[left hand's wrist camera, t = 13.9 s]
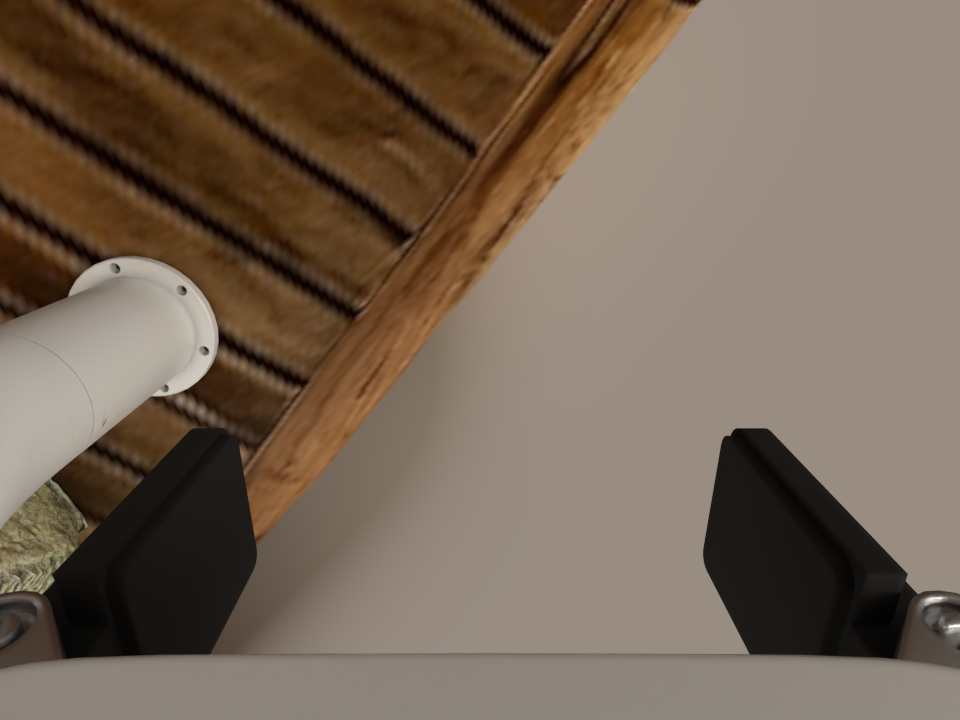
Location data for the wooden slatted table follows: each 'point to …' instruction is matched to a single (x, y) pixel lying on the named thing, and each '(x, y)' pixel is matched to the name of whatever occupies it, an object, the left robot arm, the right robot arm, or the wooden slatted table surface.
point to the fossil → (38, 540)
